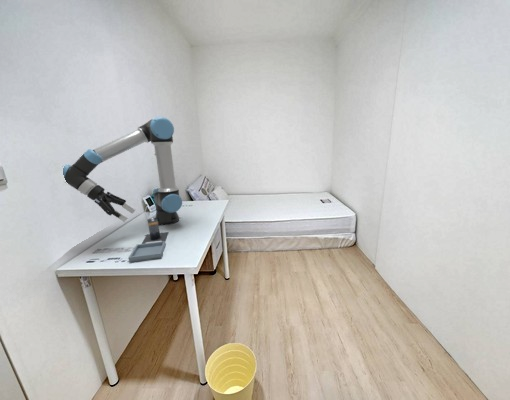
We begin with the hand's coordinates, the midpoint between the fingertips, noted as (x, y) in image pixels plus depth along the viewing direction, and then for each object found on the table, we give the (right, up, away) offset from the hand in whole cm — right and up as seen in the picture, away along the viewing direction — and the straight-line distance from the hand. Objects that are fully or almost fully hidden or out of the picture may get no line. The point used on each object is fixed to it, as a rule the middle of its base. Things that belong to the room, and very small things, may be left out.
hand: (130, 215), depth 122 cm
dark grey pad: (+11, -13, +6) cm, 18 cm away
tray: (+14, -18, -10) cm, 25 cm away
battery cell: (+11, -13, +6) cm, 18 cm away
